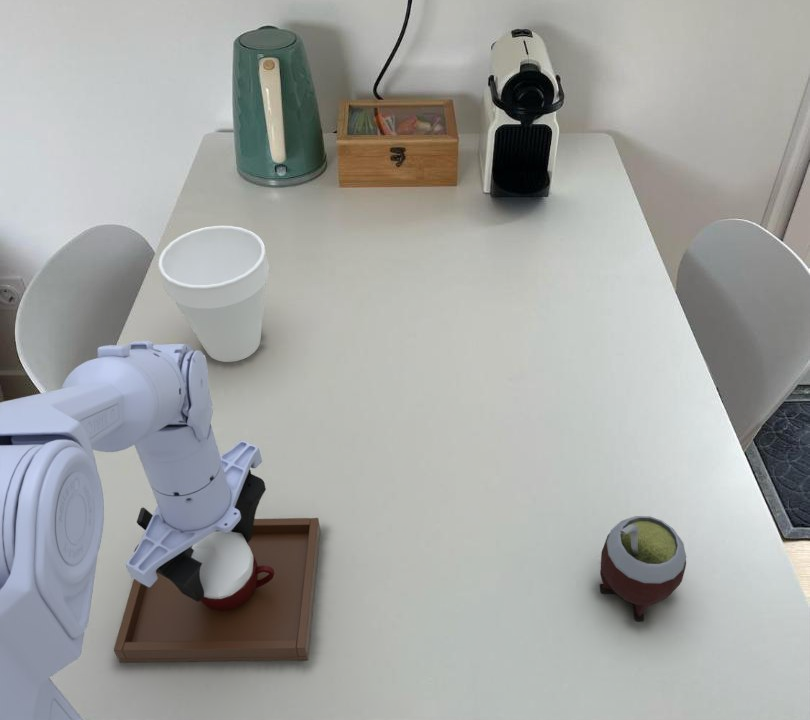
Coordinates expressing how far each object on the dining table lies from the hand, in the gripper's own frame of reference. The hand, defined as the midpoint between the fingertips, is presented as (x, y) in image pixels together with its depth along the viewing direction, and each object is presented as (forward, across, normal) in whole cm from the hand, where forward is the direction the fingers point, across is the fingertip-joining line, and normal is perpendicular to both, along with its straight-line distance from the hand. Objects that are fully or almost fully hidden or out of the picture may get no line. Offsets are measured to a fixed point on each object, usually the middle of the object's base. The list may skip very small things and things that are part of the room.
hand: (217, 564), depth 73 cm
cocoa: (+4, 0, 0) cm, 4 cm away
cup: (+5, +28, +22) cm, 36 cm away
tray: (+4, 0, 0) cm, 4 cm away
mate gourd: (+5, +18, -33) cm, 38 cm away
